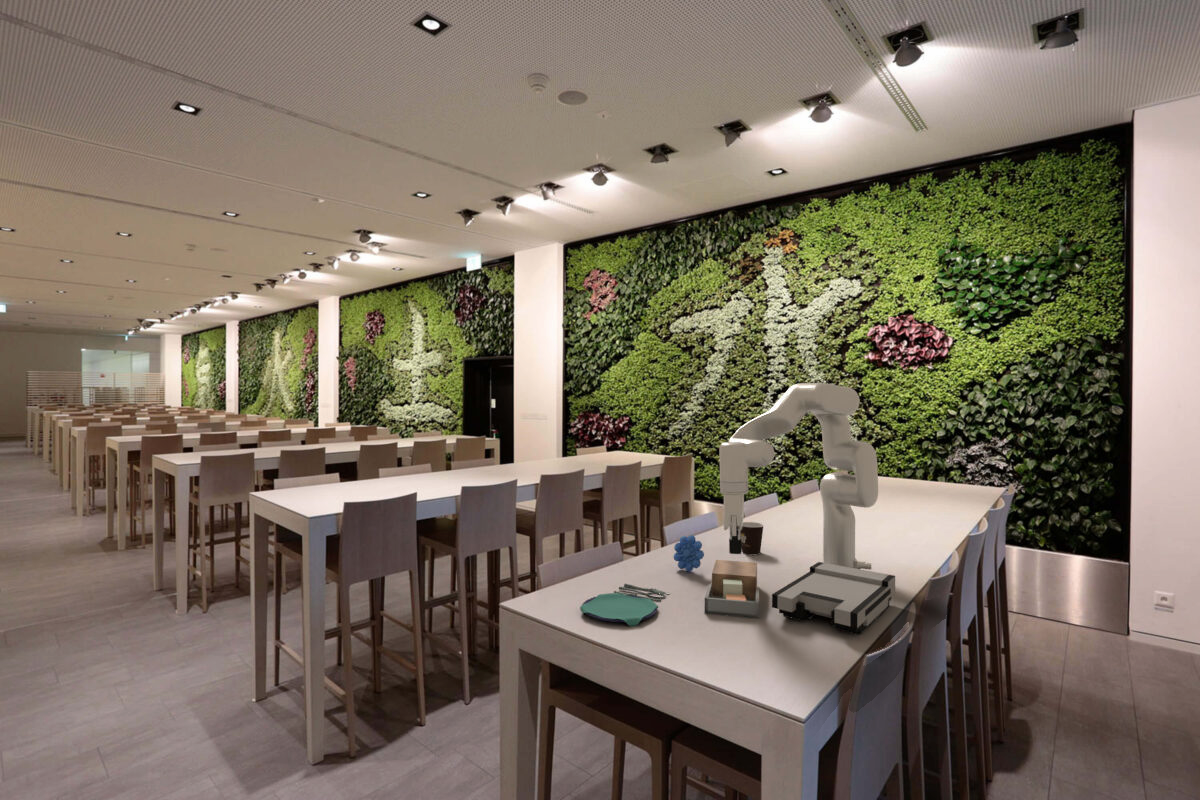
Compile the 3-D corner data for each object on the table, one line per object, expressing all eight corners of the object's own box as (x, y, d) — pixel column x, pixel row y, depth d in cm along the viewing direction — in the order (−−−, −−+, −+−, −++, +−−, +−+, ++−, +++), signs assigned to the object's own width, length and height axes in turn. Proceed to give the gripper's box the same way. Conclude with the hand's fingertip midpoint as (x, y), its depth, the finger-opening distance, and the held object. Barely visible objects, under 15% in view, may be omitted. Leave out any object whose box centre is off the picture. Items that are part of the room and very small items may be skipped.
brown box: (757, 586, 180) (757, 562, 180) (756, 601, 167) (756, 576, 166) (716, 582, 183) (716, 559, 183) (711, 598, 170) (711, 573, 170)
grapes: (711, 572, 194) (711, 535, 193) (698, 577, 189) (698, 538, 189) (682, 565, 202) (682, 529, 202) (669, 569, 197) (669, 532, 197)
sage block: (741, 580, 167) (742, 584, 163) (741, 598, 167) (742, 603, 163) (723, 579, 168) (723, 583, 164) (723, 597, 168) (723, 602, 164)
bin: (759, 602, 166) (759, 587, 166) (758, 618, 154) (758, 602, 154) (709, 597, 170) (709, 583, 170) (704, 613, 158) (704, 598, 158)
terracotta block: (746, 601, 158) (746, 610, 158) (744, 594, 163) (744, 604, 163) (726, 600, 158) (726, 609, 158) (725, 593, 163) (725, 603, 163)
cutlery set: (567, 618, 155) (567, 609, 155) (620, 587, 182) (620, 579, 182) (637, 634, 146) (637, 624, 146) (682, 598, 172) (682, 590, 172)
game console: (771, 621, 153) (771, 589, 153) (818, 589, 178) (818, 561, 177) (857, 643, 140) (857, 608, 140) (895, 605, 164) (895, 575, 164)
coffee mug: (766, 555, 214) (766, 527, 213) (741, 555, 214) (741, 527, 214) (758, 547, 225) (758, 520, 225) (734, 547, 225) (734, 520, 225)
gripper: (722, 482, 175) (723, 545, 176) (718, 491, 161) (719, 560, 161) (748, 482, 173) (750, 546, 174) (747, 492, 159) (748, 561, 159)
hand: (735, 553), depth 167 cm, fingers closed
